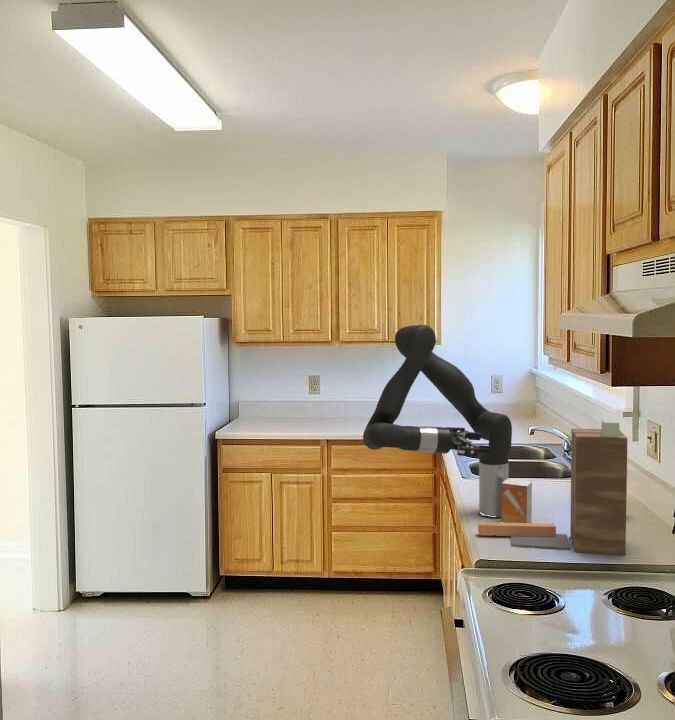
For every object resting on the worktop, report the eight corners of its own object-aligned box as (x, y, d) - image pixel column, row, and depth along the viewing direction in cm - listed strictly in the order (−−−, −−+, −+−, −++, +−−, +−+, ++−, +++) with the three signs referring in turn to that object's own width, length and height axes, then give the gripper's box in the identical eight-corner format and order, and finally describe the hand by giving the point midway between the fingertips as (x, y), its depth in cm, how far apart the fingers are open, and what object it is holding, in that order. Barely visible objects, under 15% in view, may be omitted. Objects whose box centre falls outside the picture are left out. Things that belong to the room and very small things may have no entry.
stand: (570, 536, 208) (571, 428, 206) (617, 539, 206) (619, 429, 203) (575, 552, 196) (576, 436, 193) (625, 555, 193) (627, 438, 191)
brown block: (478, 535, 209) (478, 531, 212) (555, 536, 207) (553, 533, 210) (478, 525, 209) (478, 522, 212) (556, 526, 207) (554, 523, 210)
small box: (500, 524, 222) (501, 482, 221) (506, 518, 227) (506, 478, 226) (527, 527, 218) (527, 485, 217) (532, 522, 223) (532, 481, 222)
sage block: (601, 434, 196) (601, 420, 196) (616, 434, 195) (617, 420, 195) (603, 437, 192) (603, 422, 192) (619, 437, 191) (619, 422, 191)
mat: (510, 533, 213) (510, 531, 213) (566, 536, 209) (566, 534, 209) (511, 546, 201) (511, 544, 201) (570, 550, 198) (570, 547, 197)
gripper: (441, 438, 198) (496, 442, 201) (428, 417, 211) (480, 421, 214) (436, 463, 200) (491, 466, 203) (423, 440, 214) (475, 443, 217)
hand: (485, 443), depth 209 cm, fingers open, 8 cm apart
